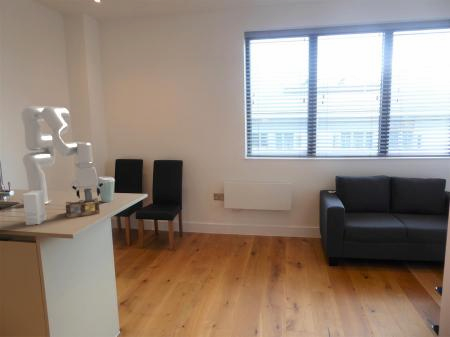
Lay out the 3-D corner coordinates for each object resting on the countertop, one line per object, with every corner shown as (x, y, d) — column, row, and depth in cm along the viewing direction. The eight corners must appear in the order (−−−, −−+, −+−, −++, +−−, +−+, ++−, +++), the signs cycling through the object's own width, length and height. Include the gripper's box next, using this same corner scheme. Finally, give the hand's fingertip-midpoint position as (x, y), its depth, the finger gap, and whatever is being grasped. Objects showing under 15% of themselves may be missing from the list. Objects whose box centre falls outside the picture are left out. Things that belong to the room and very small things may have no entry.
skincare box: (34, 220, 162) (30, 190, 159) (47, 219, 162) (44, 189, 160) (25, 225, 153) (21, 194, 151) (39, 224, 154) (35, 193, 152)
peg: (86, 209, 171) (84, 189, 169) (86, 208, 174) (83, 188, 172) (93, 208, 172) (91, 189, 171) (93, 207, 176) (90, 187, 174)
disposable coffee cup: (116, 198, 203) (114, 175, 201) (116, 202, 193) (114, 178, 191) (98, 200, 200) (96, 176, 197) (98, 204, 190) (96, 179, 187)
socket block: (66, 218, 163) (65, 206, 162) (67, 212, 173) (65, 201, 172) (99, 213, 170) (98, 202, 169) (98, 208, 180) (97, 197, 179)
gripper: (67, 167, 162) (71, 200, 165) (103, 165, 170) (106, 195, 172) (67, 166, 169) (71, 197, 172) (102, 163, 176) (104, 193, 179)
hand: (88, 196), depth 172 cm, fingers open, 9 cm apart
